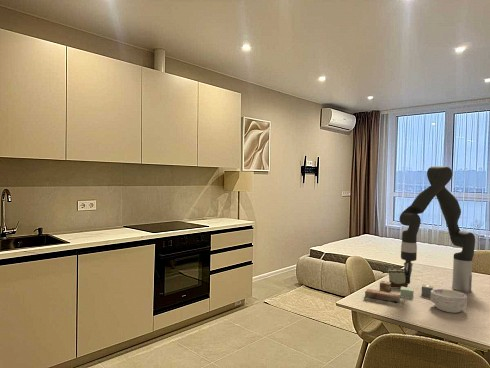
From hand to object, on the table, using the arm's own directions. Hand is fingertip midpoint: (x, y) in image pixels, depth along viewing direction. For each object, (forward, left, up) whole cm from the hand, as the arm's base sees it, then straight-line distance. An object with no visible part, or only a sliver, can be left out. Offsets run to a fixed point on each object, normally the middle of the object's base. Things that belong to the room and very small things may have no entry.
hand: (407, 283), depth 188 cm
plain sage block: (0, 0, -7) cm, 7 cm away
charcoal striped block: (-9, -8, -7) cm, 14 cm away
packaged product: (+9, +16, -7) cm, 20 cm away
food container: (+7, -16, -7) cm, 19 cm away
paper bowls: (-19, +10, -7) cm, 23 cm away
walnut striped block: (+11, -1, -7) cm, 13 cm away
